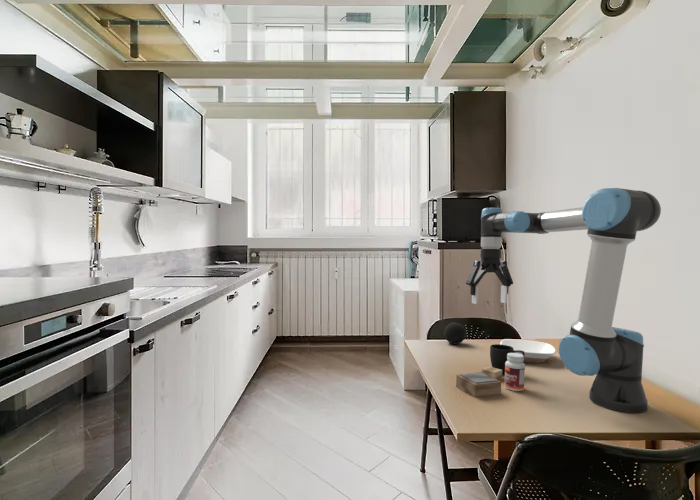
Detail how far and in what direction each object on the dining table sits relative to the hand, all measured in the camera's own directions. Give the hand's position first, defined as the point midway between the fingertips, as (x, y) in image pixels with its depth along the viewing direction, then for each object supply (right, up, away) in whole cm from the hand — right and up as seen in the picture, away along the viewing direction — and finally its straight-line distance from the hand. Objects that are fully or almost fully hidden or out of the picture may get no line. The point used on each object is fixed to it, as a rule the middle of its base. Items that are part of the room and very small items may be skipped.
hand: (489, 303), depth 163 cm
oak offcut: (-3, -25, -12) cm, 28 cm away
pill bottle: (+1, -26, -22) cm, 34 cm away
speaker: (-4, -24, +37) cm, 44 cm away
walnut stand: (-12, -25, -25) cm, 37 cm away
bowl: (+21, -25, +15) cm, 36 cm away
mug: (+4, -25, -6) cm, 26 cm away
